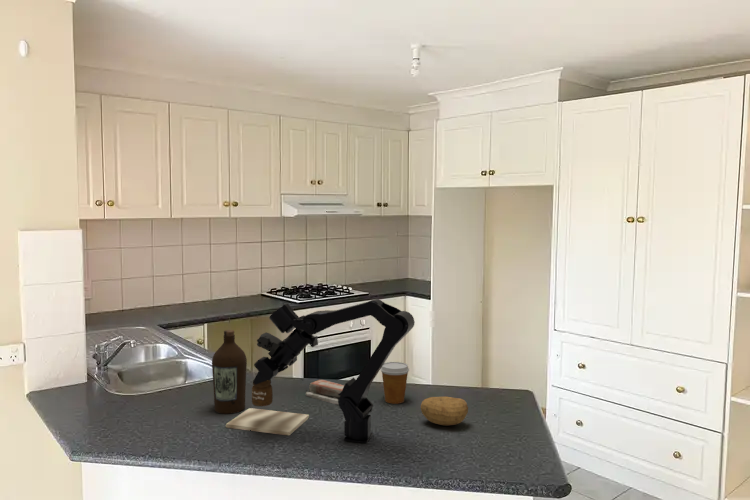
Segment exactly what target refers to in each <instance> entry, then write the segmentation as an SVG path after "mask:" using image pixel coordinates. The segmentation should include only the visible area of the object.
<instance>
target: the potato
mask: <svg viewBox="0 0 750 500" xmlns="http://www.w3.org/2000/svg"><path fill="white" fill-rule="evenodd" d="M420 411H421V414H422V415H423V416H424V418H425V419H426V420H427V421H429V422H430V423H432V424H436V425H439V426H446V427H448V426H454V425H458V424H461V423H462V422H463V421H464V420H465V419H466V417H467V414H468V413H469V407H468V403H467V401H466V400H465V399H463V398H460V397H459V398H458V397H450V396H430V397H427V398H424V399H423V400H422V401H421V404H420Z"/></svg>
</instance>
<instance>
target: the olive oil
mask: <svg viewBox="0 0 750 500" xmlns="http://www.w3.org/2000/svg"><path fill="white" fill-rule="evenodd" d="M235 335H236V334H235V330H234V329H226V330H223V343H222V344H221V346H220V347H219V348H218V349H217V350H216V351H215V353H213V356H212V360H211V369H212V384H213V385H212V386H213V402H214V405H213V406H214V411H215V412H216V413H219V414H222V415H223V414H225V415H226V414H227V415H228V414H229V415H230V414H237V413H240V412H242V411H245V410H246V385H247V365H248V364H247V362H248V359H247V356H246V353H245V351H244V350H243V349H242V348H241V347H240V346H239V345H238V344H237V343H236V342H235V341H236V340H235V338H236V337H235ZM244 409H245V410H244Z"/></svg>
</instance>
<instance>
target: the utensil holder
mask: <svg viewBox="0 0 750 500" xmlns="http://www.w3.org/2000/svg"><path fill="white" fill-rule="evenodd" d="M252 370H253V372H255V370H256V372H255V373H253V376H256V373H258V370H257V369H256V367H253V368H252ZM253 381H254V379H253V380H252V386H251V402H252V405H253V406H255V407H267V406H270V405H271V404H272V403H273V401H274V400H273V397H274V396H273V386H272V379H271V380H270V381H268V380H267V381H264V382H261V383H259V384H256V385H255V384H254V383H253Z"/></svg>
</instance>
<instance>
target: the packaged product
mask: <svg viewBox="0 0 750 500" xmlns="http://www.w3.org/2000/svg"><path fill="white" fill-rule="evenodd" d="M344 385H345V384H341V383H337V382H333V381H329V380H325V379H318V380H316V381H312V382H310V383H309V385H308V387H309V388H308V391H305V397H308V398H311V399H315V400H319V401H323V402H327V403H329V404H330V403H331V404H333V405H337V406H339V404H338V399H339V397H340V396H339V395H338V394H339V393H340V392H342V390H343V388H344Z"/></svg>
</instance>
